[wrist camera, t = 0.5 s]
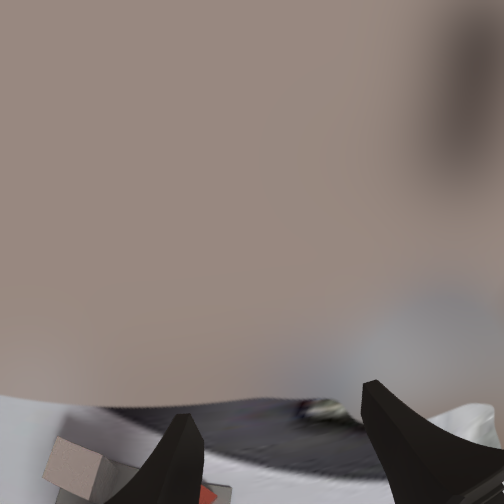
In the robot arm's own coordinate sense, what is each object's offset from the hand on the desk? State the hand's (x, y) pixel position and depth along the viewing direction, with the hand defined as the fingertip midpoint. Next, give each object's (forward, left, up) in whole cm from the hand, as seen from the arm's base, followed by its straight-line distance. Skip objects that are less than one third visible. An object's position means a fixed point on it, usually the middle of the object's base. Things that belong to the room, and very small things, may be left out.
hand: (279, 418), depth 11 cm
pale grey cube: (-3, +14, -18) cm, 23 cm away
